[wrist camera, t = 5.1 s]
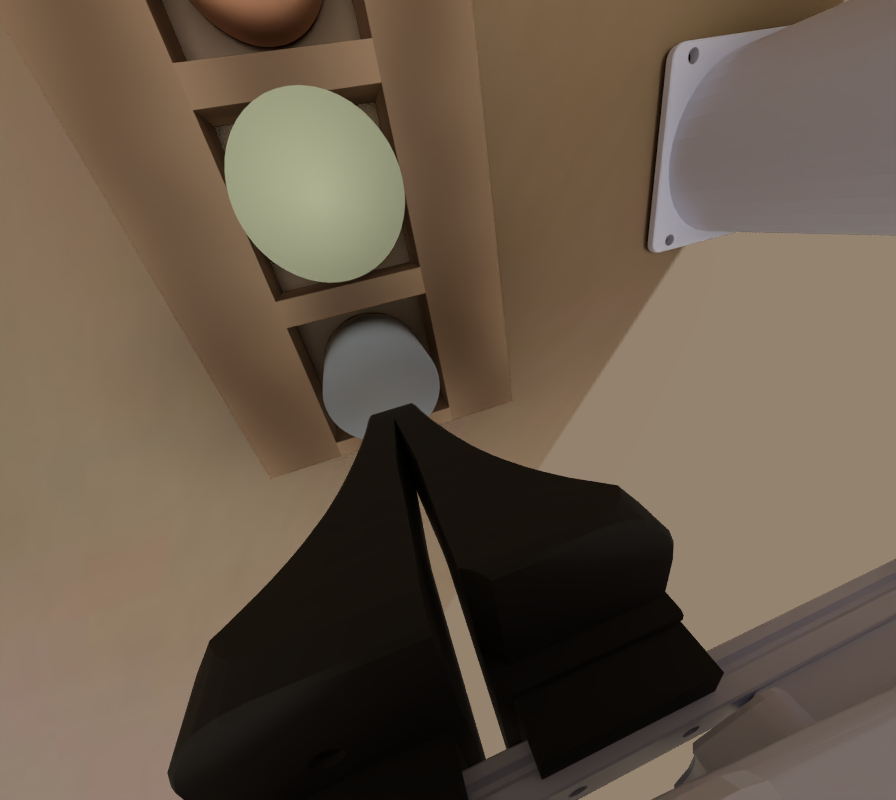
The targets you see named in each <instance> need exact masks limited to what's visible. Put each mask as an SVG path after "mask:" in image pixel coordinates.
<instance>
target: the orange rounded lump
mask: <svg viewBox="0 0 896 800" xmlns="http://www.w3.org/2000/svg"><path fill="white" fill-rule="evenodd" d="M190 1H191V2H192V4H193V5H194V6H195V7H196V8H197V9H198V10H199V11H200V12H201V13H202V14H203V15H204V16H205V17H206V18H207V19H208V20H209V21H210V22H212V23H213V24H214V25H215V26H217V27H218V28H219V29H221V30H222V31H224V32H225V33H227V34H229V35H230V36H232V37H234V38H236V39H238V40H240V41H243V42H245V43H248V44H252V45H255V46H262V47H278V46H282V45H286V44H288V43H291V42H293V41H295V40H296V39H298V38H299V37H301V36H302V35H303V34H304V33H305V32H306V31H307V30H308V29H309V28H310V26H311V25H312V24H313V22H314V21H315V19H316V17H317V15H318V13H319V10H320V7H321V4H322V1H323V0H190Z"/></svg>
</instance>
